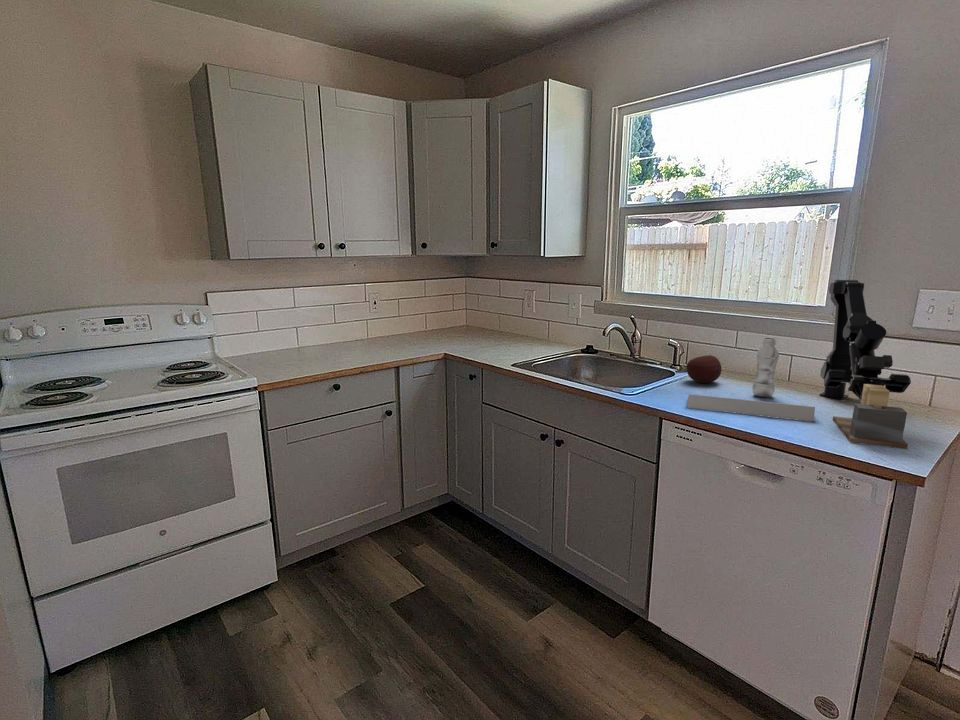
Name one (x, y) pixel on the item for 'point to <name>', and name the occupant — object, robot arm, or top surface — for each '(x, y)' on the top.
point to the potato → (704, 369)
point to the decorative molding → (751, 407)
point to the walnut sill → (874, 426)
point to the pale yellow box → (875, 395)
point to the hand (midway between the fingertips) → (868, 407)
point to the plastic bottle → (766, 368)
